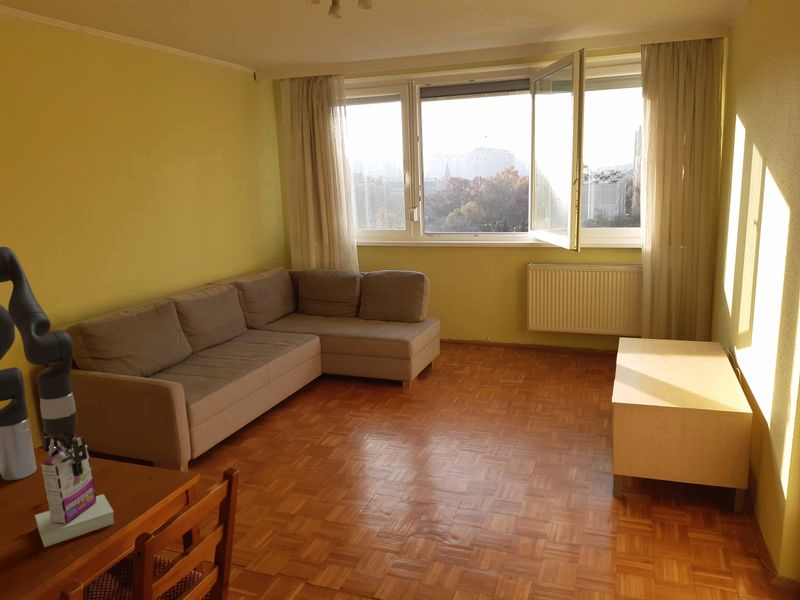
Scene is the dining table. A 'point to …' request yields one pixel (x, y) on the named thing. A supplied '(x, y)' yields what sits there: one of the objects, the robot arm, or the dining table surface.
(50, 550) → the dining table surface
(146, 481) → the dining table surface
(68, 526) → the keepsake box
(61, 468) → the candy bar box
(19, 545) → the dining table surface
